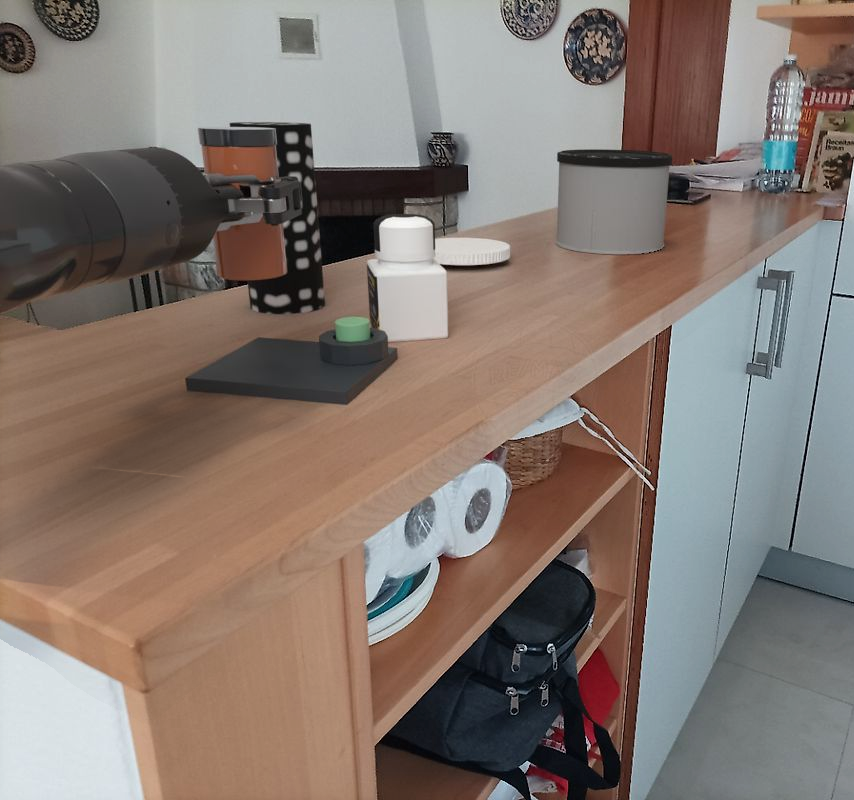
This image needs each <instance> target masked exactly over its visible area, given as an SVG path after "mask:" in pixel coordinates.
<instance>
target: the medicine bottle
mask: <svg viewBox="0 0 854 800" xmlns="http://www.w3.org/2000/svg"><path fill="white" fill-rule="evenodd" d="M435 225H436V224H435V222H434V221H433V219H432V218H430V217H428V216H426V215H422V214H415V213H394V214H393V213H392V214H385V215H381V216H380V217H378V218H376V219H375V220H374V222H373V238H374V239H373V241H374V242H373V243H374V257H375V258H372V259H368V260H367V261H366V274H367V277H366V278H367V292H368V293H367V294H368V309H369V311H368V312H369V321H370V327H371V328H376V329H379V330H382V331H385V333H386V334H387V336H388V343H400V342H414V341H415V342H417V341H429V340H441V339H444V340H445V339H448V338H449V303H448V301H449V299H448V297H449V296H448V295H449V294H448V292H449V291H448V271H447V270H446V269H445V267H443V266H442V264H439V263H438V262H437V261H436V260H435V259H434V257H435V239H436V226H435Z"/></svg>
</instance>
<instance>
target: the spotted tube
mask: <svg viewBox="0 0 854 800" xmlns="http://www.w3.org/2000/svg"><path fill="white" fill-rule="evenodd" d="M229 127H260V128H275V129H276V137H277V145H276V152H277V163H278V174H279V177H285V176H296V177H297V178H298V181H299V182H301V189H302V201H301V211H302V214H301V215H299V216H297V217H295V218H293V219H291V220H289V221H287V222H285V223H283V229H284V239H285V250H286V261H287V273H286V274H285V275H283V276H280V277H276V278H271V279H263V280H246V281H247V289H248V298H249V306H250V310H252V311H254V312H257V313H259V314H267V315H295V314H304V313H308V312H314V311H317V310H319V309H321V308H323V307H324V306H325V305H326V301H325V300H326V299H325V298H326V297H325V286H324V285H325V284H324V274H323V273H324V272H323V261H322V260H323V259H322V249H321V235H320V223H319V222H320V221H319V211H318V196H317V185H316V172H315V160H314V147H313V146H314V145H313V133H312V124H311V123H307V122H306V123H305V122H280V121H279V122H278V121H248V122H246V121H242V122H241V121H240V122H229Z"/></svg>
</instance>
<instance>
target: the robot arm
mask: <svg viewBox="0 0 854 800" xmlns="http://www.w3.org/2000/svg"><path fill="white" fill-rule="evenodd" d="M232 183H238V184H239V187H240V190H239V189H238V188H237V187H236V186H235V185H233V184H232ZM259 189H260V190H261V196H259ZM301 201H302V189H301V182H299V181H298V178H297V177H296V176H285V177H279V178H276V177H269V179H258V178H257V177H256V176H255V175H251V174H229V175H223V174H221V173H212V172H205V171H204V172H202V171H201V170H200V169H199V168H198V167H197V166H196V165H195V164H194V163H193V162H192V161H191V160H189V159H188V158H187V157H185V156H184V155H182V154H180V153H178V152H176V151H173V150H171V149H168V148H163V147H141V148H128V149H113V150H112V149H111V150H104V151H102V150H101V151H88V152H79V153H73V154H68V155H63V156H61V157H58V158H54V159H48V160H47V159H46V160H36V161H35V160H33V161H21V162H12V163H11V162H10V163H1V164H0V315H3V314H6V313H8V312H11V311H13V310H15V309H18V308H20V307H23V306H24V305H25V306H26V305H27V304H29V303H32V302H34V301H35V302H36V301H40V300H47V299H51V298H54V297H58V296H62V295H65V294H70V293H72V292H76V291H79V290H82V289H86V288H89V287H92V286H95V285H101V284H112V283H118V282H123V281H128V280H130V279H131V280H132V279H133V278H134V279H135V278H138V277H140V276H144V275H148V274H150V273H154V272H156V271H161V270H163V269H166V268H169V267H173V266H176V265H179V264H183V263H186V262H188V261H191V260H194V259H195V258H197V257H199V256H200V255H202V253H204V251H206V250H207V248H208V247H209V245H210V244H211V243H212V242H213V237H214V235H215V233H216V231H223V230H228V229H229V228H230V226H234V225H241V224H249V223H257V222H259V221H261V219H262V216H263V219H264V221H265V223H266V224H271V225H272V226H277V225H278V224H282V223H285V222H287V221H289V220H291V219H293V218H295V217H297V216H299V215H301V214H302V211H301Z"/></svg>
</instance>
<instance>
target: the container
mask: <svg viewBox="0 0 854 800" xmlns="http://www.w3.org/2000/svg"><path fill="white" fill-rule="evenodd" d="M556 153H557V154H556V161H557V163H558V185H557V186H558V187H557V188H558V189H557V190H558V191H557V192H558V193H557V222H556V224H557V226H556V239H555V244H556V245H557V247H560V248H562V249H565V250H569V251H574V252H579V253H585V254H586V253H587V254H595V255H596V254H597V255H617V256H619V255H620V256H624V255H625V256H628V254H629V255H643V254H642V253H644V254H650V253H649V252H651V253H655V252H654V251H656V252H658V251H657V250H659V251H661V250H660V249H662V248H663V247H664V248H665V240H664V239H665V231H666V230H665V229H666V217H667V216H666V215H667V204H668V203H667V202H668V191H669V181H670V178H669V177H670V167H671V165H673V157H674V155H672V154H670V153H667V152H658V151H648V150H631V149H601V148H599V149H597V148H596V149H594V148H592V149H566V150H560V151H557V152H556ZM664 248H663V249H664ZM663 249H662V250H663Z"/></svg>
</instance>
